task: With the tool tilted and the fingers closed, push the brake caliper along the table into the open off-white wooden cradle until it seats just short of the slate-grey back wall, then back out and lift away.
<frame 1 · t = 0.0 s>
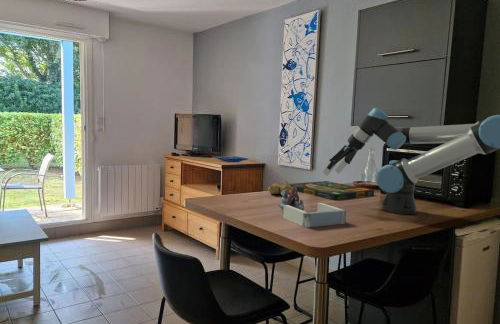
hand: (330, 172, 179), 15 cm above the table, tool tilted 35°, fingers open, 13 cm apart
cradle: (312, 219, 148), on the table
brake caliper: (291, 212, 161), on the table
pizza box: (329, 193, 217), on the table
ginger root: (281, 195, 201), on the table
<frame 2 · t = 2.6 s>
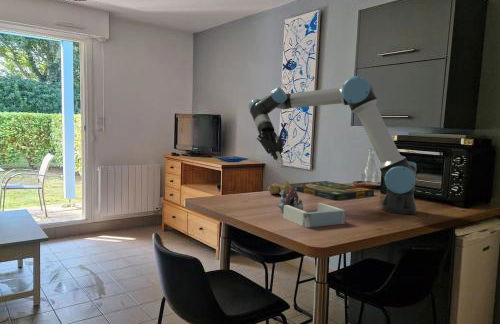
hand: (281, 164, 168), 19 cm above the table, tool tilted 45°, fingers closed
nothing on the table moved.
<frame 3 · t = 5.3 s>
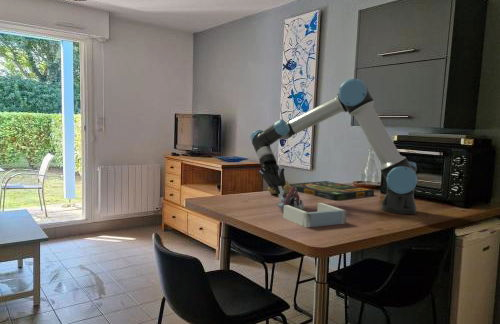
hand: (283, 199, 165), 4 cm above the table, tool tilted 45°, fingers closed
brake caliper: (290, 212, 161), on the table, touching gripper
everything else where it was.
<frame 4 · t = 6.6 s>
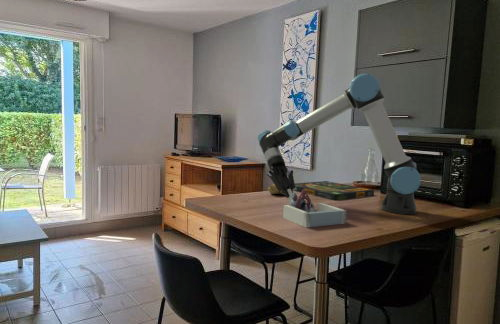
hand: (293, 203, 159), 4 cm above the table, tool tilted 45°, fingers closed
brake caliper: (301, 216, 155), on the table, touching gripper
everything else where it was.
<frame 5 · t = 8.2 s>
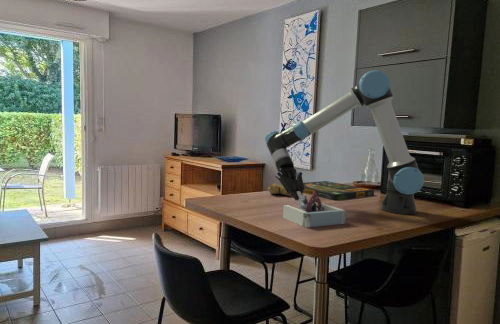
hand: (302, 206, 154), 4 cm above the table, tool tilted 45°, fingers closed
brake caliper: (311, 219, 150), on the table, touching gripper
everything else where it was.
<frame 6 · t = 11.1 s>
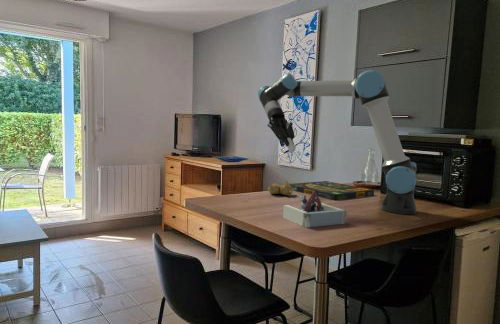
hand: (292, 150, 163), 26 cm above the table, tool tilted 45°, fingers closed
brake caliper: (311, 219, 151), on the table
everything else where it was.
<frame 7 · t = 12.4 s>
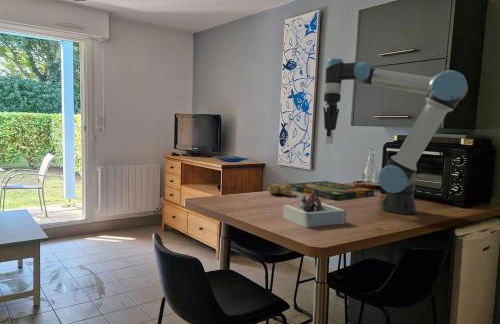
hand: (329, 143, 177), 29 cm above the table, tool pointing down, fingers closed
nothing on the table moved.
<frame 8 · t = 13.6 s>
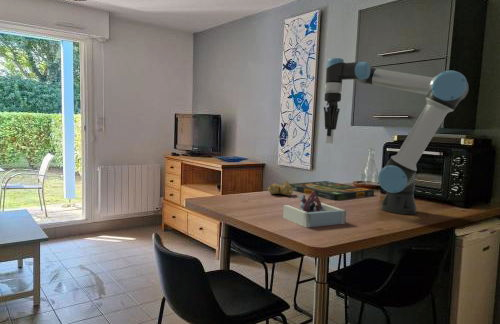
hand: (329, 143, 177), 29 cm above the table, tool pointing down, fingers closed
nothing on the table moved.
at the end: brake caliper 3.2 cm from the cradle (horizontally); brake caliper moved 11.6 cm from its start; brake caliper touching table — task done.
